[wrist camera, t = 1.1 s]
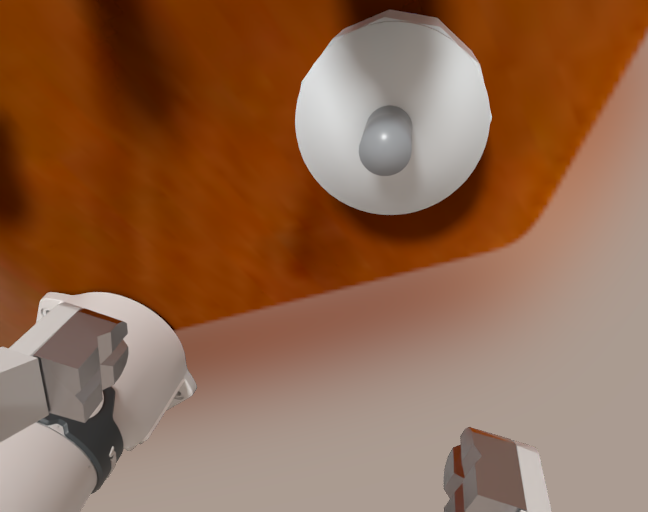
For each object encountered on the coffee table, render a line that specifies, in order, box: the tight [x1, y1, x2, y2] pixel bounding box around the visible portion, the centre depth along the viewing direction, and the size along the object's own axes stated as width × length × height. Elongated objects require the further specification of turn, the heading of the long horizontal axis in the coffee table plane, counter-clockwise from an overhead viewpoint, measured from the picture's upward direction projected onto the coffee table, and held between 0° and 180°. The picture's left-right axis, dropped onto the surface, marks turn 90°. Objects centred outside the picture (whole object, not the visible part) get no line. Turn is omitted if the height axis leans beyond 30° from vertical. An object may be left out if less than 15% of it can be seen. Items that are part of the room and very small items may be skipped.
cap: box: [295, 10, 492, 215], centre depth 29 cm, size 12×12×10 cm
